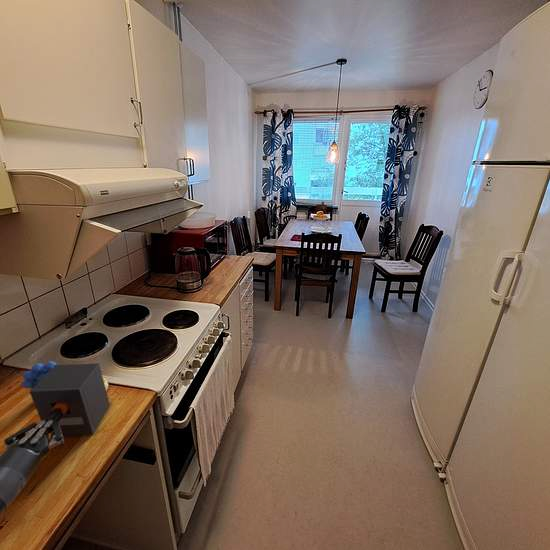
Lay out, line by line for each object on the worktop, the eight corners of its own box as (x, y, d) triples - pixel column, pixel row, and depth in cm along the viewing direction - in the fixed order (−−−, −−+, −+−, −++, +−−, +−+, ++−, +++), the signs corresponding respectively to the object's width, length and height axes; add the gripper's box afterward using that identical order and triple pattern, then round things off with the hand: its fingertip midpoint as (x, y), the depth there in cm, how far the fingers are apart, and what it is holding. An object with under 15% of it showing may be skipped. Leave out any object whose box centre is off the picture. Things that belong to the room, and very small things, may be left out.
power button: (53, 415, 74) (50, 406, 73) (57, 410, 76) (54, 401, 74) (66, 415, 74) (63, 406, 73) (70, 410, 76) (67, 401, 75)
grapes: (30, 410, 86) (17, 378, 81) (28, 397, 90) (16, 366, 86) (75, 391, 93) (65, 361, 89) (71, 380, 98) (62, 351, 93)
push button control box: (46, 437, 77) (28, 392, 72) (69, 407, 87) (55, 364, 81) (92, 435, 78) (78, 390, 72) (110, 405, 88) (99, 363, 82)
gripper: (33, 466, 57) (82, 398, 73) (-38, 470, 56) (27, 401, 72) (44, 490, 60) (88, 420, 76) (-24, 494, 59) (36, 422, 75)
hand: (58, 411), depth 74 cm, fingers closed
